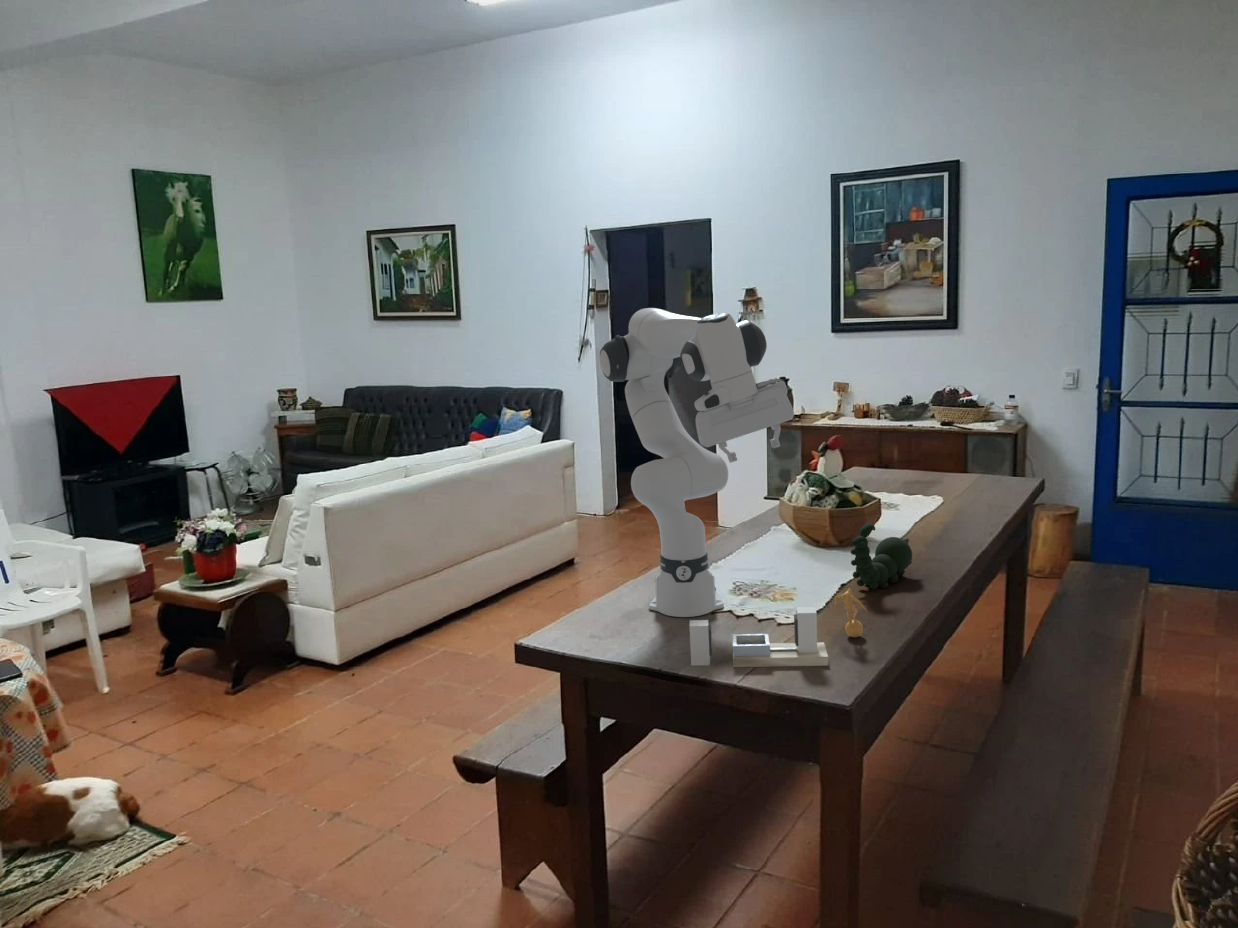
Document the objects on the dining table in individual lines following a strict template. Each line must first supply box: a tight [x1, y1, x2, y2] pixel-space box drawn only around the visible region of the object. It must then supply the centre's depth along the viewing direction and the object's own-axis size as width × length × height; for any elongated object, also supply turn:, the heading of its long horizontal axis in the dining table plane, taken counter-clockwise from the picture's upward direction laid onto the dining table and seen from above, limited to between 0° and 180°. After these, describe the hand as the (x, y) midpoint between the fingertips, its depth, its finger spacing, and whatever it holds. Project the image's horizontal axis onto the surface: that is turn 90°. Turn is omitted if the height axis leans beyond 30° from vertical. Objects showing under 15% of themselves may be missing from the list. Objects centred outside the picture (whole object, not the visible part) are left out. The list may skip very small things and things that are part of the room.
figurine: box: [833, 588, 868, 638], centre depth 217 cm, size 8×6×12 cm
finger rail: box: [731, 606, 829, 668], centre depth 208 cm, size 8×20×11 cm, turn 85°
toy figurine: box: [850, 523, 913, 590], centre depth 252 cm, size 9×19×25 cm
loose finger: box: [689, 619, 713, 666], centre depth 209 cm, size 4×4×9 cm
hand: (754, 454), depth 200 cm, fingers open, 8 cm apart
